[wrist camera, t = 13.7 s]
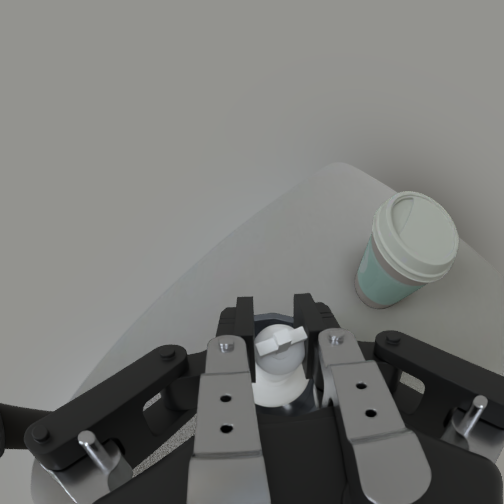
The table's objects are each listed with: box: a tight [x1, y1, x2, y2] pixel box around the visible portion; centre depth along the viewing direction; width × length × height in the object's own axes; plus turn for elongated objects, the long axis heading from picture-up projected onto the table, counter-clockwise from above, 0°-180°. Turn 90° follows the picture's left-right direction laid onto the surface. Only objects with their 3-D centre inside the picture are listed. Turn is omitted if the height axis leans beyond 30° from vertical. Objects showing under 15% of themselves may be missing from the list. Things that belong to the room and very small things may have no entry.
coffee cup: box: [355, 191, 459, 309], centre depth 24 cm, size 8×8×12 cm
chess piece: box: [252, 324, 309, 407], centre depth 12 cm, size 5×5×10 cm
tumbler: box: [254, 313, 316, 417], centre depth 22 cm, size 9×9×7 cm
